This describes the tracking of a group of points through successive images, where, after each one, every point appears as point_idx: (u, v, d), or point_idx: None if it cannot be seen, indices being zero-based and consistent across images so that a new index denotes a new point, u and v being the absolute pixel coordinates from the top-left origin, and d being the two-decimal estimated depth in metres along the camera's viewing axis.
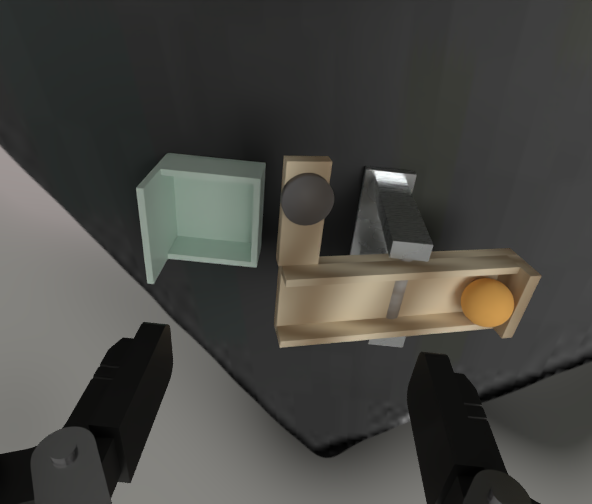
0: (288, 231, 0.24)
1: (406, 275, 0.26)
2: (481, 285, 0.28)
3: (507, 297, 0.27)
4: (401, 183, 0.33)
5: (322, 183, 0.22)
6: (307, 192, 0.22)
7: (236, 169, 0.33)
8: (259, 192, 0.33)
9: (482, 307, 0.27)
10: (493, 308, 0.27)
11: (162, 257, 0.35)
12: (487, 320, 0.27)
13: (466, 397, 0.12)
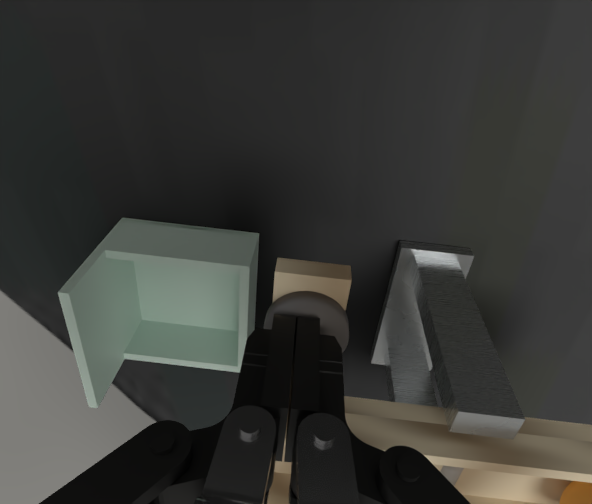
0: None
1: (464, 461, 0.16)
2: None
3: None
4: (453, 271, 0.23)
5: (329, 314, 0.13)
6: None
7: (216, 246, 0.23)
8: (248, 283, 0.23)
9: None
10: None
11: (113, 364, 0.25)
12: None
13: (330, 355, 0.13)
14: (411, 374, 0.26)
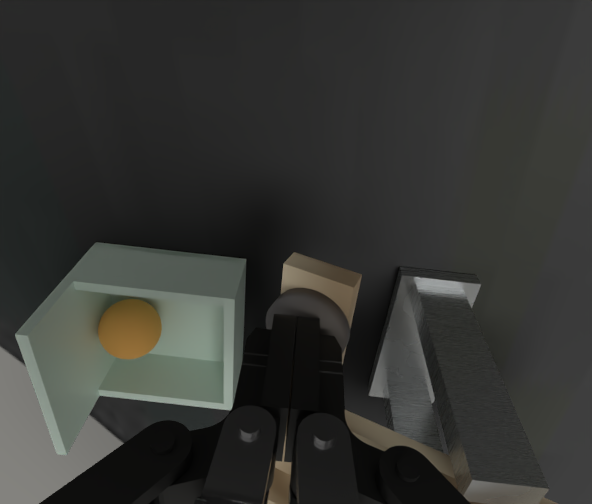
0: None
1: None
2: (144, 307, 0.23)
3: None
4: (459, 301, 0.21)
5: (325, 316, 0.13)
6: None
7: (198, 275, 0.21)
8: (233, 316, 0.21)
9: None
10: None
11: (85, 404, 0.23)
12: None
13: (329, 355, 0.13)
14: (413, 410, 0.24)
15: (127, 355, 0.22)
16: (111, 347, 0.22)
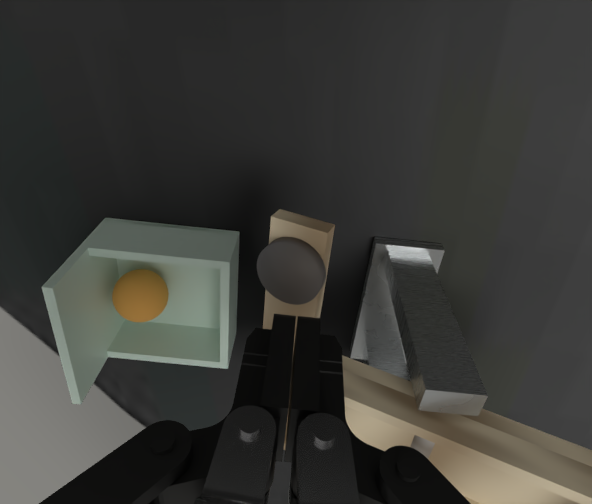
0: (273, 301, 0.19)
1: (415, 428, 0.17)
2: (153, 274, 0.26)
3: None
4: (424, 264, 0.24)
5: (304, 257, 0.16)
6: (285, 261, 0.17)
7: (197, 244, 0.24)
8: (228, 278, 0.24)
9: None
10: None
11: (97, 362, 0.25)
12: None
13: (330, 355, 0.13)
14: (388, 366, 0.27)
15: (143, 317, 0.25)
16: (128, 310, 0.25)
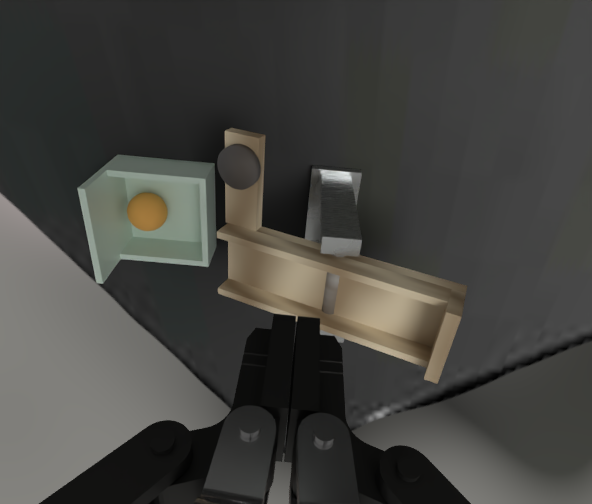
0: (230, 193, 0.29)
1: (318, 264, 0.27)
2: (155, 194, 0.36)
3: None
4: (345, 181, 0.34)
5: (245, 154, 0.26)
6: (234, 158, 0.27)
7: (183, 169, 0.34)
8: (205, 192, 0.33)
9: None
10: None
11: (113, 258, 0.35)
12: None
13: (330, 355, 0.13)
14: None
15: (153, 224, 0.35)
16: (142, 219, 0.35)
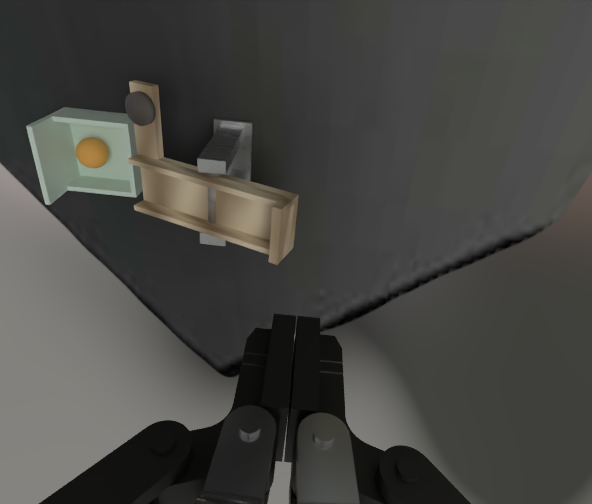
0: (138, 130, 0.39)
1: (196, 180, 0.37)
2: None
3: None
4: (237, 129, 0.44)
5: (142, 98, 0.36)
6: (135, 102, 0.37)
7: (113, 117, 0.44)
8: (128, 135, 0.44)
9: None
10: None
11: (60, 187, 0.46)
12: None
13: (330, 355, 0.13)
14: None
15: (99, 161, 0.46)
16: (91, 157, 0.45)
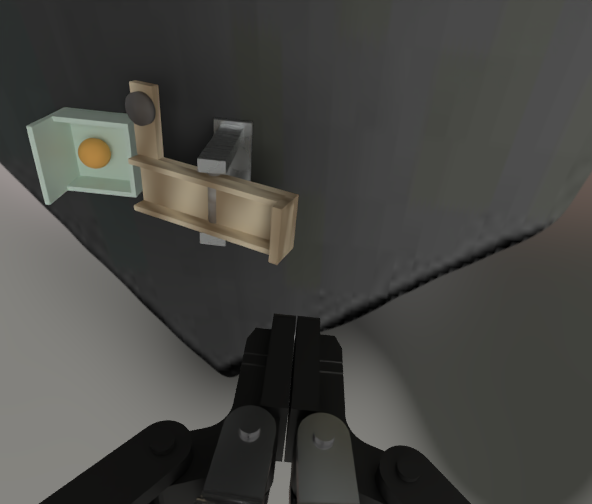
0: (138, 130, 0.39)
1: (196, 180, 0.37)
2: None
3: None
4: (237, 129, 0.44)
5: (142, 98, 0.36)
6: (135, 102, 0.37)
7: (113, 117, 0.44)
8: (128, 135, 0.44)
9: None
10: None
11: (60, 187, 0.46)
12: None
13: (330, 355, 0.13)
14: None
15: (104, 161, 0.46)
16: (96, 157, 0.45)
